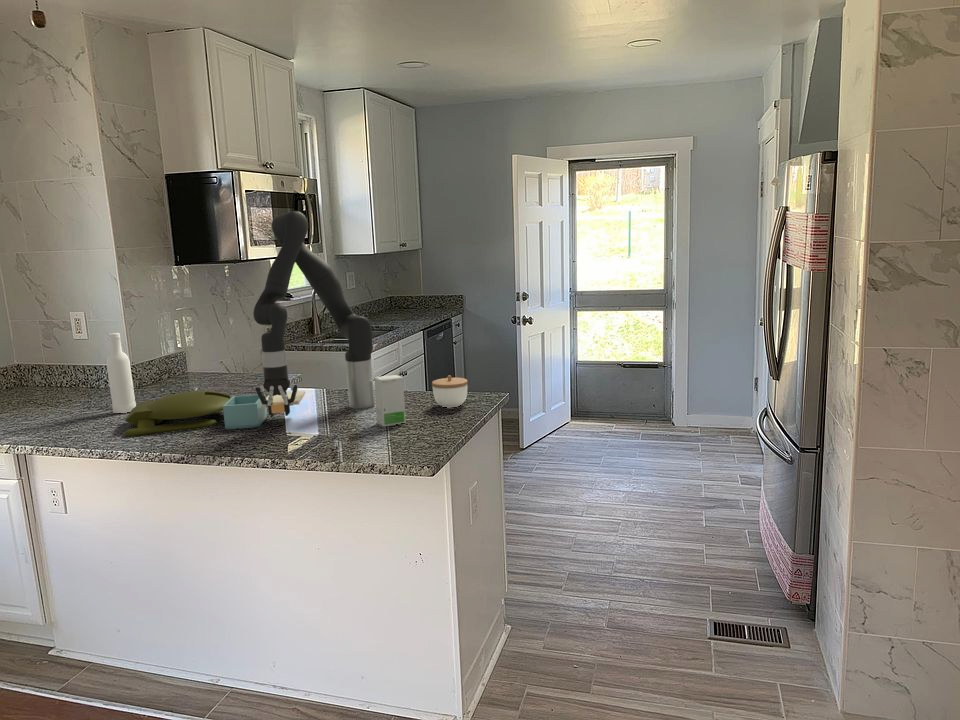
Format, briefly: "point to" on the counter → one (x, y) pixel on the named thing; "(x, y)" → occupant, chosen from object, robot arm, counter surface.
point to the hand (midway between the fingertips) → (279, 415)
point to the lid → (279, 402)
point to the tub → (244, 412)
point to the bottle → (120, 377)
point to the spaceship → (175, 412)
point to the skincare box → (389, 400)
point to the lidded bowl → (450, 391)
